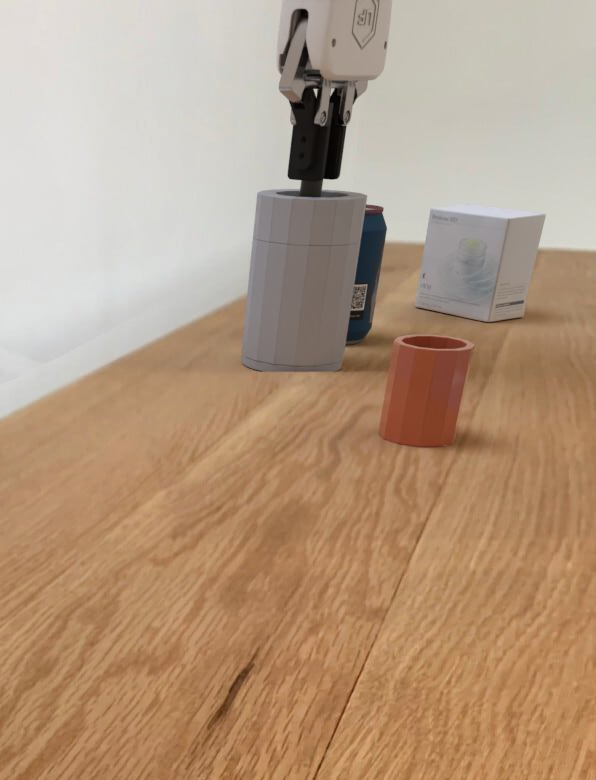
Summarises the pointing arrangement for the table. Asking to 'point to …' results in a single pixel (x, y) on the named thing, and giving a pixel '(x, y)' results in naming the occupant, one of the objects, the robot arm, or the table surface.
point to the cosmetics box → (479, 261)
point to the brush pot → (425, 390)
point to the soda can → (367, 274)
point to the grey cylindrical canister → (301, 280)
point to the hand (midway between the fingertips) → (313, 177)
